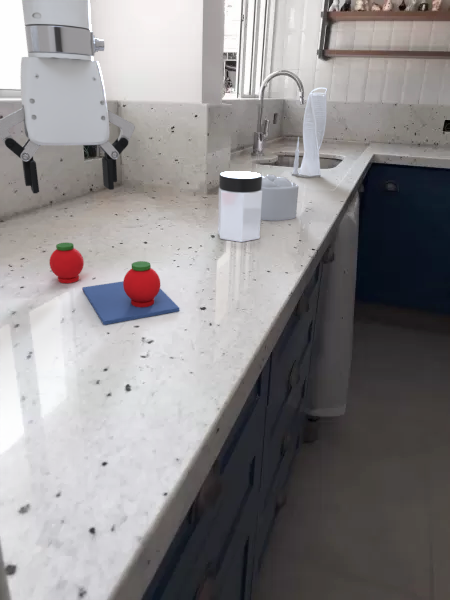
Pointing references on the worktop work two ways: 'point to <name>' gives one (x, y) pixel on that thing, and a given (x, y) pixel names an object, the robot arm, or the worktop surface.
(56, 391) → the worktop surface
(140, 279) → the red round lidded pot
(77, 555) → the worktop surface
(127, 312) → the cloth
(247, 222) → the jar
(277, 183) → the lumpy-topped squat cylinder
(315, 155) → the skyscraper
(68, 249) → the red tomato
